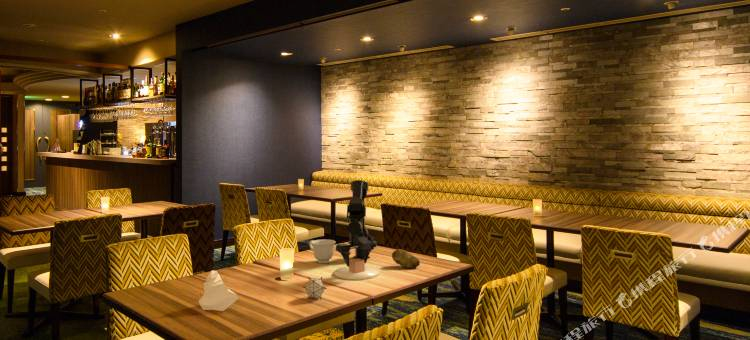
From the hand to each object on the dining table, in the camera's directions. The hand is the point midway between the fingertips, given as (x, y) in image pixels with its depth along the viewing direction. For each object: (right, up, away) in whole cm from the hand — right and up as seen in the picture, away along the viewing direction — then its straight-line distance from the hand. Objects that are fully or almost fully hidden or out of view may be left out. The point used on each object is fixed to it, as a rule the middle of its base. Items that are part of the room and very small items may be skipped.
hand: (356, 264), depth 242 cm
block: (0, -3, 0) cm, 3 cm away
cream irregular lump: (-49, -8, -44) cm, 66 cm away
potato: (+22, -3, +12) cm, 26 cm away
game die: (-15, -7, -35) cm, 38 cm away
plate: (0, -4, 0) cm, 4 cm away
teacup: (-18, -3, +24) cm, 30 cm away
